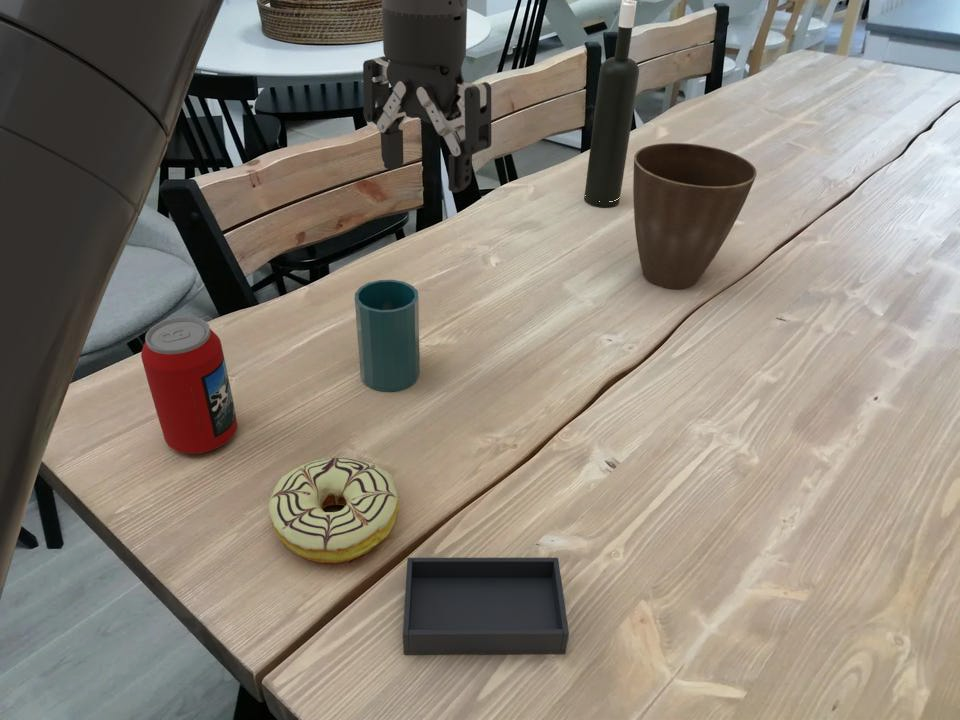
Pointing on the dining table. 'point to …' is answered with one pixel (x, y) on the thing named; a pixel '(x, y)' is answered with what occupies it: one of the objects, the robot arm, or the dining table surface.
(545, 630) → the tray
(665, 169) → the flower pot
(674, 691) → the dining table surface
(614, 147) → the wine bottle
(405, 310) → the cup
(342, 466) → the decorated donut
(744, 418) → the dining table surface
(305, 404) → the dining table surface
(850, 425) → the dining table surface
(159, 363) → the beverage can
